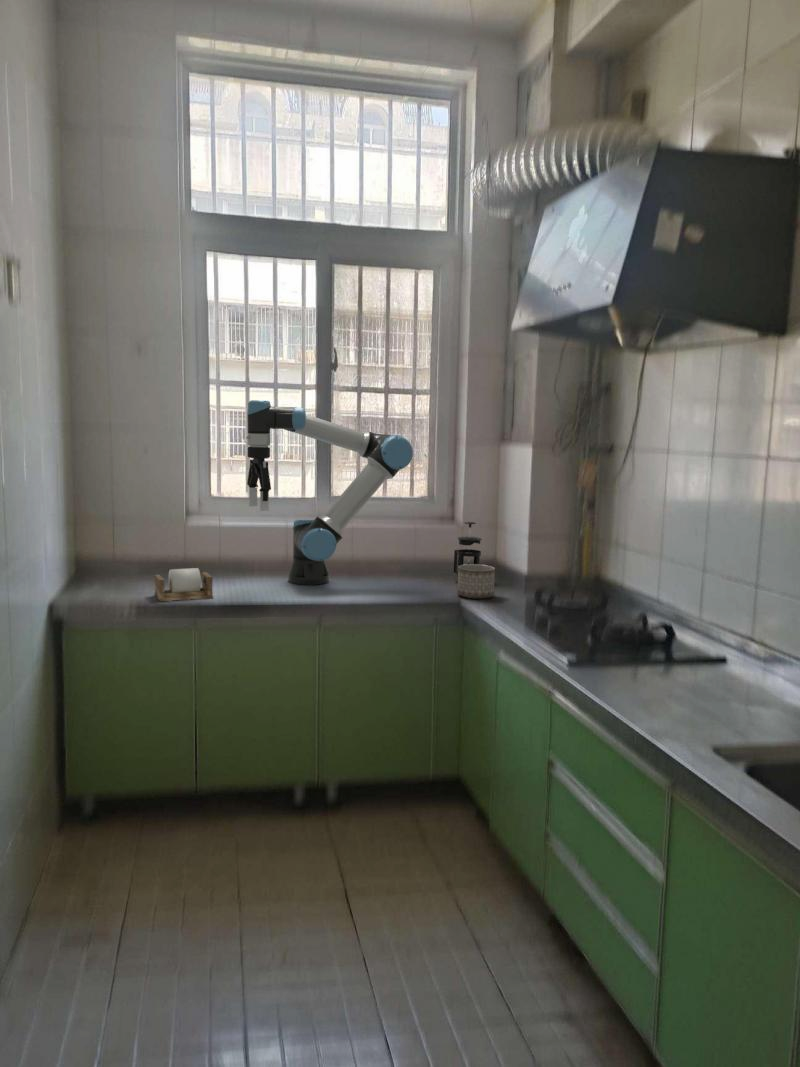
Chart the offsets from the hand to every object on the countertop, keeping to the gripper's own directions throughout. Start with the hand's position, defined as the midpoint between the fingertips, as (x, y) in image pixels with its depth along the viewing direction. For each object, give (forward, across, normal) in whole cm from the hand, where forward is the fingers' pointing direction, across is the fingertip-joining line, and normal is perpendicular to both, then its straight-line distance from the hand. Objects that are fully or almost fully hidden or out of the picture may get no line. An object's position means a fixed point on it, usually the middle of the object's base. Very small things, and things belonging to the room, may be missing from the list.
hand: (258, 508), depth 283 cm
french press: (+29, +10, +78) cm, 84 cm away
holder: (+29, +2, -26) cm, 39 cm away
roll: (+27, +2, -26) cm, 38 cm away
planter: (+29, +33, +68) cm, 81 cm away
